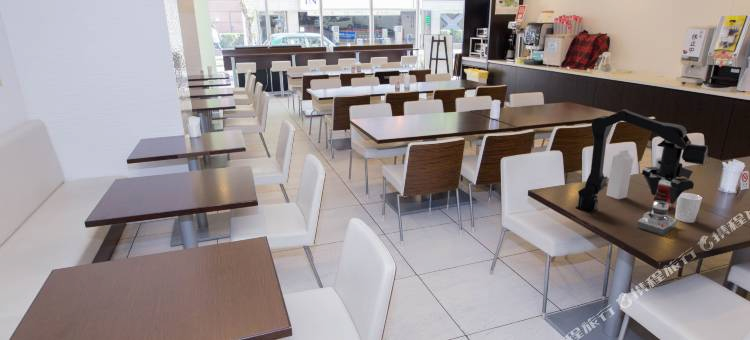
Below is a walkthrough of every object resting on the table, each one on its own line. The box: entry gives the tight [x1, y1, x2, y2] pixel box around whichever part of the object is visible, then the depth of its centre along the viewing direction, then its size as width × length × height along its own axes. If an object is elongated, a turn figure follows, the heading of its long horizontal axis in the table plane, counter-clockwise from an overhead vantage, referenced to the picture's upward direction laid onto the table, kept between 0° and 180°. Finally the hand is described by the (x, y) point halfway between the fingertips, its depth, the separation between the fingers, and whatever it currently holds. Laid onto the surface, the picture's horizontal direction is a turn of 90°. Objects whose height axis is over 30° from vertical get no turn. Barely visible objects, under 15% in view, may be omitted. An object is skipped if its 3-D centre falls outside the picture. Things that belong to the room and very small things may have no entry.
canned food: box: [652, 180, 675, 211], centre depth 188 cm, size 8×8×11 cm
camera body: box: [636, 211, 678, 236], centre depth 169 cm, size 9×12×4 cm
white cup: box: [674, 192, 703, 224], centre depth 175 cm, size 8×8×10 cm
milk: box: [606, 148, 634, 200], centre depth 198 cm, size 6×6×22 cm
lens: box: [650, 201, 669, 220], centre depth 168 cm, size 5×5×7 cm
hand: (662, 199), depth 166 cm, fingers open, 9 cm apart
